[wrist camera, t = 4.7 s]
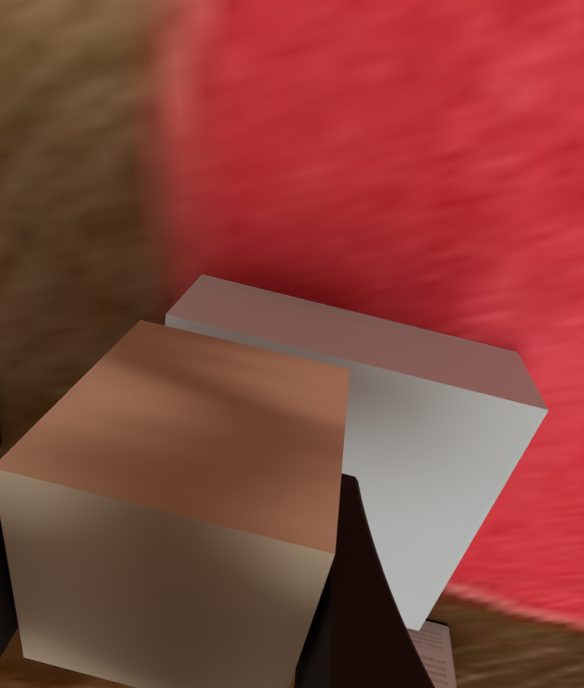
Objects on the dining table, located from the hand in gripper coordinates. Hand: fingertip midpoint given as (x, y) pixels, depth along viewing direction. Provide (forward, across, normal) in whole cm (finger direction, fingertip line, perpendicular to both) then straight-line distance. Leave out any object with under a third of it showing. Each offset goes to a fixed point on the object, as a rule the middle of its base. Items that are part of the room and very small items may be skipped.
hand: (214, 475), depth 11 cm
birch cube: (+2, 0, 0) cm, 2 cm away
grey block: (+9, -3, +5) cm, 11 cm away
